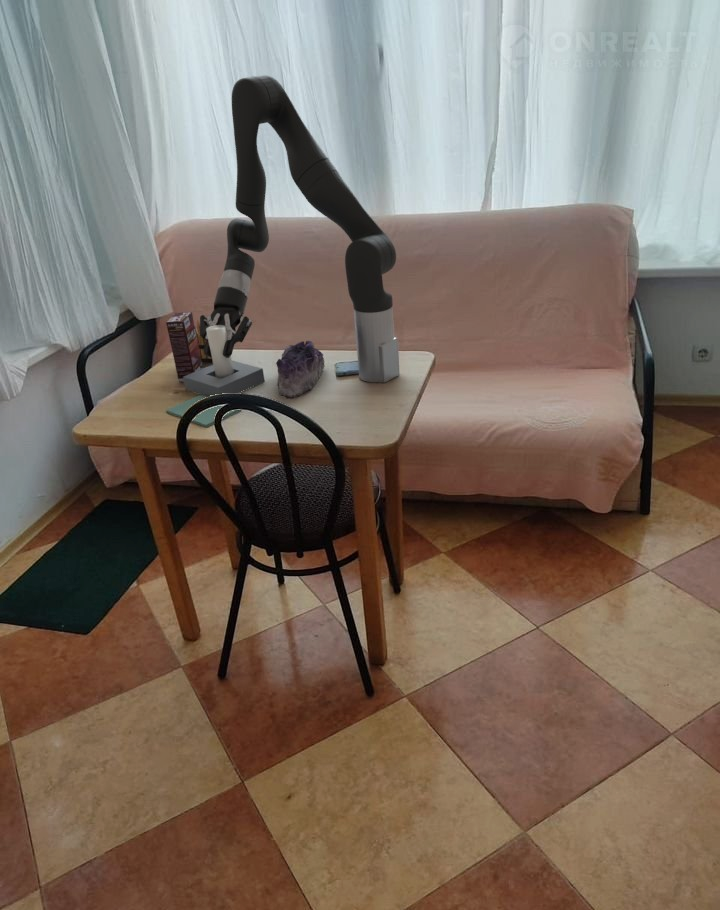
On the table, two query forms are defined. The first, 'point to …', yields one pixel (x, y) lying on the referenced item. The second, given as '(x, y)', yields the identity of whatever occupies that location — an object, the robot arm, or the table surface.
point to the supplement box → (184, 344)
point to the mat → (201, 419)
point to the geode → (299, 369)
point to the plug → (219, 351)
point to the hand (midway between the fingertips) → (216, 355)
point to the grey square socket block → (224, 380)
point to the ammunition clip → (202, 345)
